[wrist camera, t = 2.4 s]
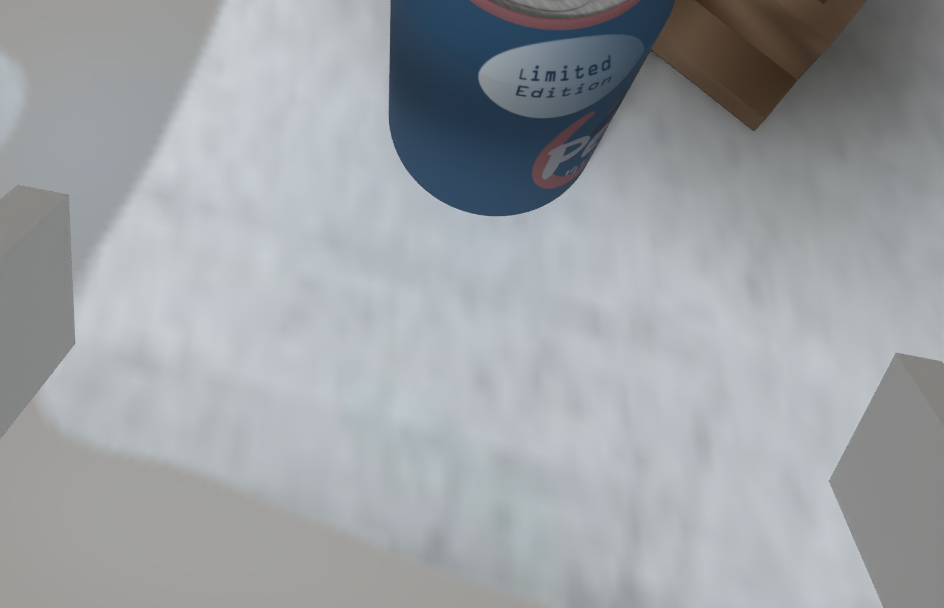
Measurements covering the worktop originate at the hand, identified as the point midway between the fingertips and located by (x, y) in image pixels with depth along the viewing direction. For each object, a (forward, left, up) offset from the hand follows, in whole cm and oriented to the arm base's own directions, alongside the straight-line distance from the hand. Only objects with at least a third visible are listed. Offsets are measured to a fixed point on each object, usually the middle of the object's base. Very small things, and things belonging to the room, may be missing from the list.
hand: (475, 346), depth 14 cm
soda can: (+5, -9, -15) cm, 18 cm away
